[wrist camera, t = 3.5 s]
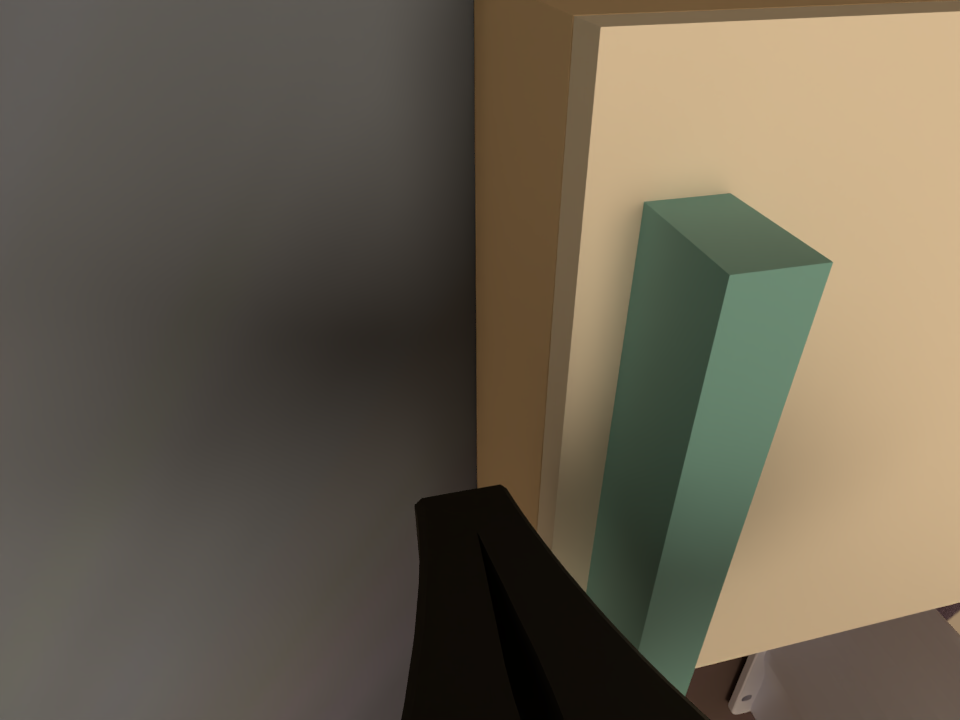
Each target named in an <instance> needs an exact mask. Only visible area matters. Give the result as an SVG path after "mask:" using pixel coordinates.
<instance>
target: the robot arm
mask: <svg viewBox="0 0 960 720" xmlns="http://www.w3.org/2000/svg"><path fill="white" fill-rule="evenodd" d="M415 516H416V527H417V538H418V550H419V561H420V564H419V589H418V600H417V612H416V624H415V634H414V642H413V650H412V656H411V663H410V670H409V676H408V683H407V690H406V696H405V703H404V708H403V714H402V719H401V720H710V719H709V718H708V717H707V716H706V715H704V714H703V713H702V712H701V711H700V710H699V709H698V708H697V707H696V706H695V705H694V704H693V703H692V702H690V701H689V700H688V699H687V698H686V697H685V696H684V695H683V694H682V693H681V692H680V691H679V690H678V689H677V688H676V687H674V686H673V685H672V684H671V683H670V682H669V681H668V680H667V679H666V678H665V677H664V676H663V675H662V674H661V673H660V672H659V671H658V670H657V669H656V668H655V667H654V666H653V665H652V664H651V663H650V662H649V661H648V660H647V659H646V658H645V657H644V656H643V655H642V654H641V653H640V652H639V651H638V650H637V649H636V648H635V647H634V645H633V644H632V643H631V642H630V641H629V640H628V639H627V638H626V637H625V636H624V635H623V634H622V633H621V632H620V631H619V630H618V629H617V627H616V626H615V625H614V624H613V623H612V622H611V621H610V620H609V619H608V618H607V616H606V615H605V614H604V613H603V612H602V611H601V610H600V609H599V608H598V606H597V605H596V604H595V603H594V602H593V601H592V600H591V598H590V597H589V596H588V595H587V594H586V592H585V591H584V590H583V589H582V588H581V587H580V585H579V584H578V583H577V582H576V581H575V579H574V578H573V577H572V576H571V575H570V574H569V572H568V571H567V570H566V569H565V568H564V566H563V565H562V564H561V563H560V561H559V560H558V559H557V558H556V556H555V555H554V554H553V553H552V551H551V550H550V549H549V547H548V546H547V545H546V543H545V542H544V541H543V540H542V538H541V537H540V536H539V534H538V533H537V532H536V530H535V529H534V527H533V526H532V525H531V523H530V522H529V521H528V519H527V518H526V516H525V515H524V514H523V512H522V511H521V509H520V508H519V506H518V505H517V503H516V502H515V500H514V499H513V497H512V496H511V494H510V493H509V491H508V489H507V488H505V487H504V486H502V485H501V484H499V485H493V486H488V487H482V488H477V489H471V490H466V491H460V492H455V493H449V494H443V495H438V496H432V497H427V498H422V499H421V500H419V501H418V502H417V503H416V504H415ZM728 707H729V709H730V711H731V712H732V713H733V714H736V715H737V714H742V713H746V712H749V711H751V712H752V714H753V716H754V718H755V719H756V720H960V635H959V634H958V633H957V631H955V629H954V628H953V627H952V626H951V625H950V624H949V623H948V622H947V620H946V619H945V618H944V617H943V616H942V615H941V614H940V613H939V612H938V611H937V610H936V608H935V609H931V610H927V611H923V612H919V613H915V614H911V615H907V616H903V617H899V618H895V619H891V620H887V621H883V622H879V623H875V624H871V625H867V626H863V627H859V628H855V629H851V630H847V631H843V632H839V633H835V634H831V635H827V636H823V637H819V638H815V639H811V640H807V641H803V642H799V643H795V644H791V645H787V646H783V647H779V648H775V649H771V650H767V651H763V652H759V653H755V654H751V655H749V656H748V658H747V661H746V663H745V665H744V668H743V670H742V673H741V675H740V677H739V680H738V682H737V684H736V687H735V689H734V692H733V694H732V696H731V699H730V701H729V704H728Z"/></svg>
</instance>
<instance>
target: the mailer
mask: <svg viewBox="0 0 960 720" xmlns="http://www.w3.org/2000/svg"><path fill="white" fill-rule="evenodd" d="M934 1H959V0H474V67H475V223H476V378H477V488H482V487H488V486H493V485H499V484H501V485H502V486H504V487H505V488H507V489H508V491H509V493H510V494H511V496H512V497H513V499H514V500H515V502H516V503H517V505H518V506H519V508H520V509H521V511H522V512H523V514H524V515H525V516H526V518H527V519H528V521H529V522H530V523H531V525H532V526H533V527H534V529H535V530H536V532H537V526H538V512H539V498H540V484H541V470H542V456H543V442H544V428H545V415H546V401H547V387H548V373H549V359H550V345H551V331H552V317H553V303H554V290H555V276H556V262H557V248H558V234H559V220H560V206H561V192H562V178H563V164H564V151H565V137H566V123H567V109H568V95H569V81H570V67H571V53H572V39H573V26H574V16H585V15H610V14H635V13H660V12H685V11H710V10H735V9H759V8H784V7H809V6H834V5H859V4H884V3H909V2H934Z"/></svg>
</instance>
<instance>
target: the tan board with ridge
mask: <svg viewBox="0 0 960 720" xmlns="http://www.w3.org/2000/svg"><path fill="white" fill-rule="evenodd" d="M537 533H538V534H539V536H540V537H541V538H542V540H543V541H544V542H545V543H546V545H547V546H548V547H549V549H550V550H551V551H552V553H553V554H554V555H555V556H556V558H557V559H558V560H559V561H560V563H561V564H562V565H563V566H564V568H565V569H566V570H567V571H568V572H569V574H570V575H571V576H572V577H573V578H574V579H575V581H576V582H577V583H578V584H579V585H580V587H581V588H582V589H583V590H584V591H585V592H586V594H587V595H588V596H589V597H590V598H591V600H592V601H593V602H594V603H595V604H596V605H597V606H598V608H599V609H600V610H601V611H602V612H603V613H604V614H605V615H606V616H607V618H608V619H609V620H610V621H611V622H612V623H613V624H614V625H615V626H616V627H617V629H618V630H619V631H620V632H621V633H622V634H623V635H624V636H625V637H626V638H627V639H628V640H629V641H630V642H631V643H632V644H633V645H634V647H635V648H636V649H637V650H638V651H639V652H640V653H641V654H642V655H643V656H644V657H645V658H646V659H647V660H648V661H649V662H650V663H651V664H652V665H653V666H654V667H655V668H656V669H657V670H658V671H659V672H660V673H661V674H662V675H663V676H664V677H665V678H666V679H667V680H668V681H669V682H670V683H671V684H672V685H673V686H674V687H676V688H677V689H678V690H679V691H680V692H681V693H682V694H683V695H684V696H686V693H687V690H688V687H689V684H690V681H691V678H692V675H693V672H694V669H695V668H699V667H703V666H707V665H711V664H715V663H719V662H723V661H727V660H731V659H735V658H739V657H743V656H747V655H751V654H755V653H759V652H763V651H767V650H771V649H775V648H779V647H783V646H787V645H791V644H795V643H799V642H803V641H807V640H811V639H815V638H819V637H823V636H827V635H831V634H835V633H839V632H843V631H847V630H851V629H855V628H859V627H863V626H867V625H871V624H875V623H879V622H883V621H887V620H891V619H895V618H899V617H903V616H907V615H911V614H915V613H919V612H923V611H927V610H931V609H935V608H939V607H943V606H947V605H951V604H955V603H959V602H960V0H959V1H934V2H909V3H884V4H859V5H834V6H809V7H784V8H759V9H735V10H710V11H685V12H660V13H635V14H610V15H585V16H574V26H573V39H572V53H571V67H570V81H569V95H568V109H567V123H566V137H565V151H564V164H563V178H562V192H561V206H560V220H559V234H558V248H557V262H556V276H555V290H554V303H553V317H552V331H551V345H550V359H549V373H548V387H547V401H546V415H545V428H544V442H543V456H542V470H541V484H540V498H539V512H538V526H537Z"/></svg>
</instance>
